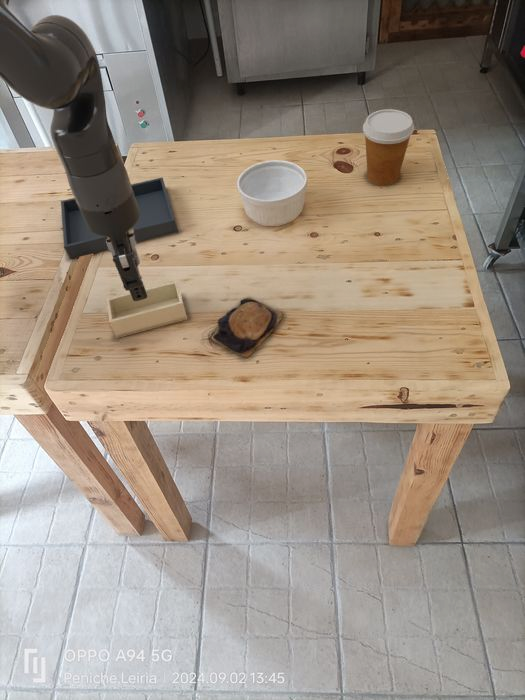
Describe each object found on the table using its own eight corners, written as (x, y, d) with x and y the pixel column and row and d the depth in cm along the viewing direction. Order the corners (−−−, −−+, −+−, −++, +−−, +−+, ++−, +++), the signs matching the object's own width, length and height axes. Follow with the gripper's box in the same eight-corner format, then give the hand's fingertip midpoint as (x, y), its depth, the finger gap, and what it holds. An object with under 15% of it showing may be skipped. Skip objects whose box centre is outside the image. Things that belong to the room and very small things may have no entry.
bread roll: (246, 298, 91) (244, 282, 88) (287, 317, 87) (285, 302, 84) (206, 338, 86) (202, 323, 83) (247, 361, 82) (245, 345, 79)
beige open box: (116, 338, 88) (109, 322, 84) (113, 315, 91) (106, 298, 88) (187, 319, 89) (182, 302, 86) (181, 297, 92) (176, 280, 89)
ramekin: (240, 233, 102) (236, 203, 96) (241, 192, 110) (237, 162, 104) (310, 228, 101) (309, 197, 95) (305, 187, 109) (304, 156, 104)
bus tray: (69, 259, 101) (63, 247, 99) (66, 213, 110) (60, 200, 108) (178, 232, 103) (175, 219, 101) (165, 189, 113) (162, 177, 110)
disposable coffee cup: (368, 194, 106) (372, 138, 96) (353, 168, 112) (356, 113, 102) (413, 185, 106) (423, 128, 97) (397, 160, 112) (404, 104, 103)
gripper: (72, 170, 75) (109, 257, 87) (78, 230, 66) (118, 318, 78) (125, 157, 75) (153, 246, 88) (138, 216, 67) (167, 305, 79)
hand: (137, 280), depth 83 cm, fingers open, 8 cm apart
